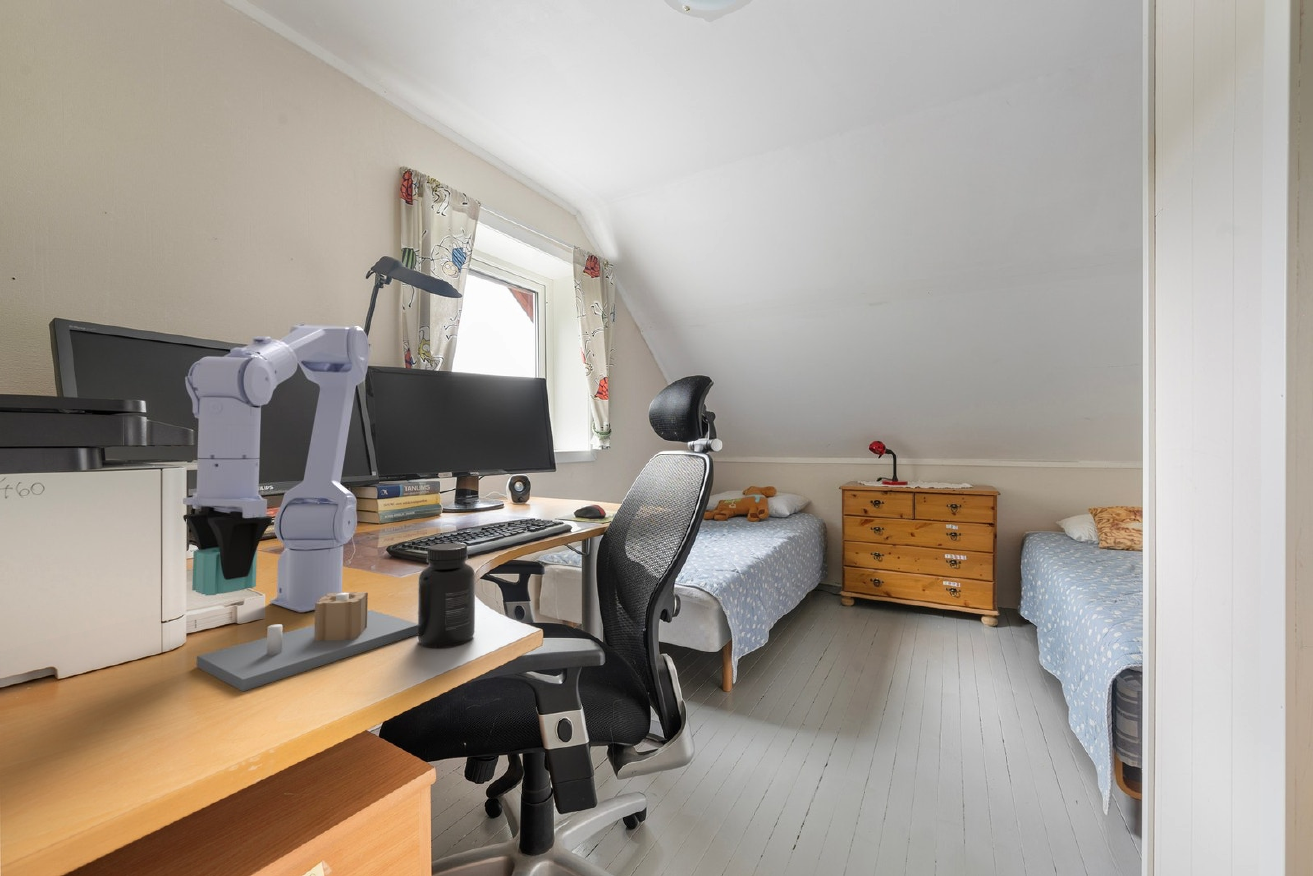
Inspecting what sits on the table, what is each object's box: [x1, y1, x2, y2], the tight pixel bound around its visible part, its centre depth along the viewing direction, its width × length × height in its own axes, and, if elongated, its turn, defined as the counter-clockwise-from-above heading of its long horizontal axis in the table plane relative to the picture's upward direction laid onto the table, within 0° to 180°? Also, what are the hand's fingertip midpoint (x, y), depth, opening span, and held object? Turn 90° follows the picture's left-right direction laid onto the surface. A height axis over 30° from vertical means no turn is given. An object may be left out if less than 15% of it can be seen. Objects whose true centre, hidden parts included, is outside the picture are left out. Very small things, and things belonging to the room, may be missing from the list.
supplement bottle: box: [417, 542, 476, 649], centre depth 69 cm, size 7×7×12 cm
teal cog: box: [191, 547, 258, 596], centre depth 63 cm, size 5×5×4 cm
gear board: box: [196, 591, 418, 692], centre depth 65 cm, size 11×20×6 cm, turn 149°
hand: (225, 574), depth 63 cm, fingers closed on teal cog, 5 cm apart
